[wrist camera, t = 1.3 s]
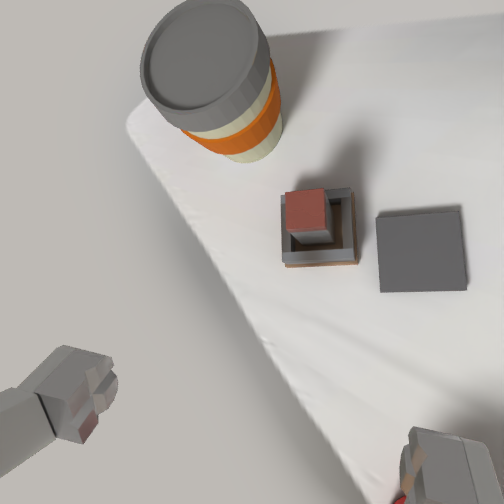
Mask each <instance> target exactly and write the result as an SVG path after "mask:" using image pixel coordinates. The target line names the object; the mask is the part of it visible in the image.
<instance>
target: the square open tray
mask: <svg viewBox="0 0 504 504" xmlns="http://www.w3.org/2000/svg"><path fill="white" fill-rule="evenodd" d="M324 191H325V193H326V196H327V198H328V200H329V203H330V205H331V208H332V210H333V213H334V226H335V244H332V245H316V246H303V245H302V244H301V243H300V242H299V241H298V240H297V239H296V238H295V237H294V236H293V235H291V234H290V233H289V232H288V231H287V230H286V207H285V195H281V234H282V262H284V263H285V267H287V268H293V267H315V266H336V265H358V257H357V240H356V222H355V204H354V192H353V193H351V190H350V188H342V189H333V190H324Z"/></svg>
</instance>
